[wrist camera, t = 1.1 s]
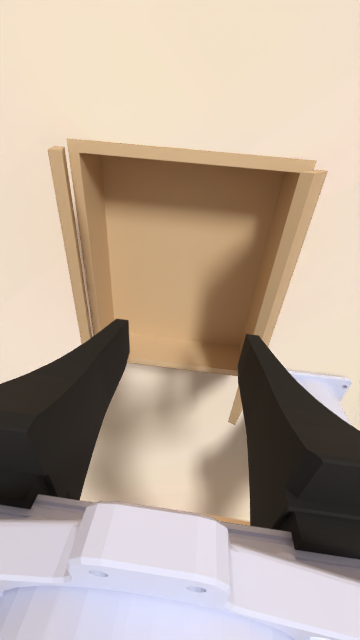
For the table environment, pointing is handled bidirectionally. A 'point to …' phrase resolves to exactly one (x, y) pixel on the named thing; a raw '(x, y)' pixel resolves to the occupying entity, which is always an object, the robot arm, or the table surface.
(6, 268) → the table surface
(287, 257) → the flap right
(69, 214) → the flap left
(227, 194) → the carton
